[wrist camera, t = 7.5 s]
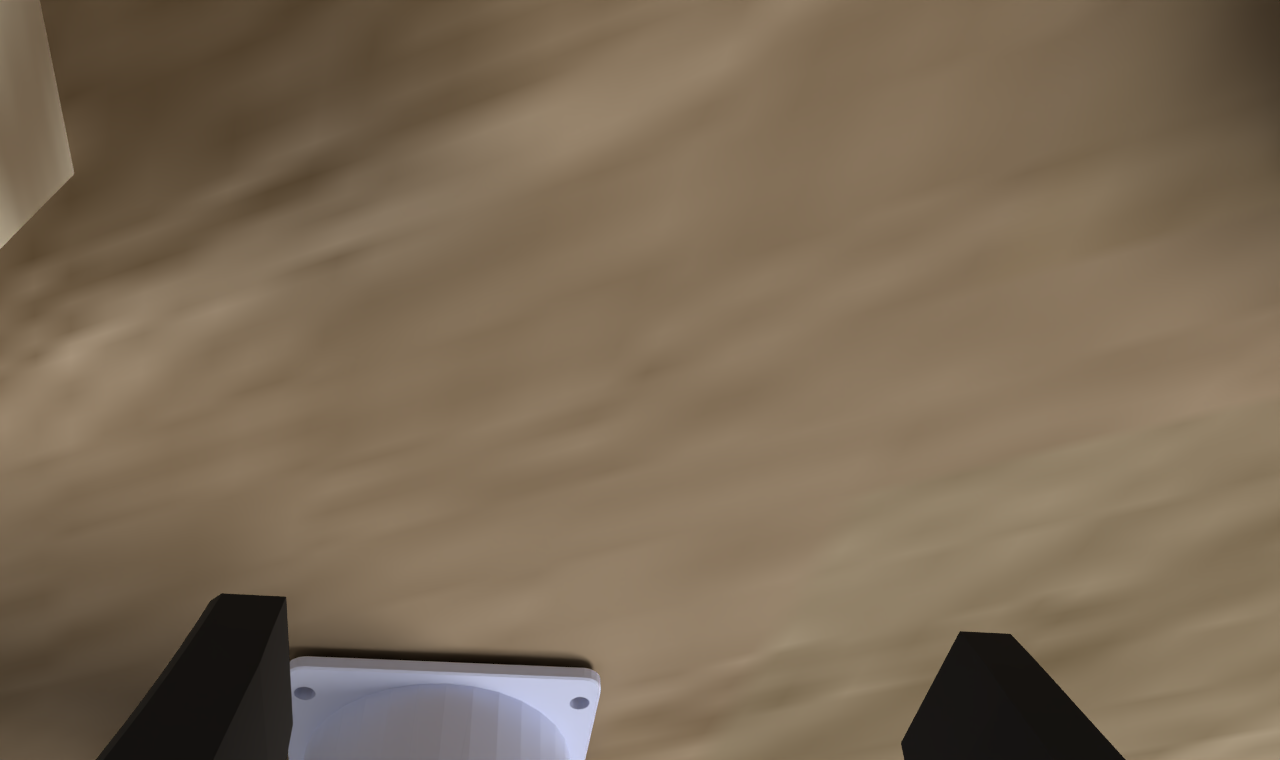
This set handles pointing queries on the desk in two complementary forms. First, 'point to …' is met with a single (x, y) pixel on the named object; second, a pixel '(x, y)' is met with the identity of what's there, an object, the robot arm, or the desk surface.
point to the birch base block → (28, 118)
